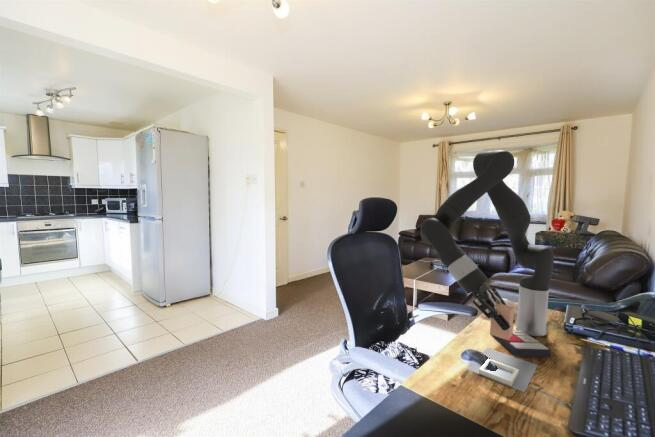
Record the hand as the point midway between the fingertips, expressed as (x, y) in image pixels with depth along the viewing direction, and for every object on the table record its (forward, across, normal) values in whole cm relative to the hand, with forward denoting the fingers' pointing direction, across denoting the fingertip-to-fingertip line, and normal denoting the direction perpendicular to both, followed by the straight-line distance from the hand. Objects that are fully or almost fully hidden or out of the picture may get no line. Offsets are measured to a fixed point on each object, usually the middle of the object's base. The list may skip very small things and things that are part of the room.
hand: (509, 325), depth 82 cm
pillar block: (+1, 0, +4) cm, 4 cm away
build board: (+10, +5, +12) cm, 16 cm away
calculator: (+10, +24, +13) cm, 29 cm away
